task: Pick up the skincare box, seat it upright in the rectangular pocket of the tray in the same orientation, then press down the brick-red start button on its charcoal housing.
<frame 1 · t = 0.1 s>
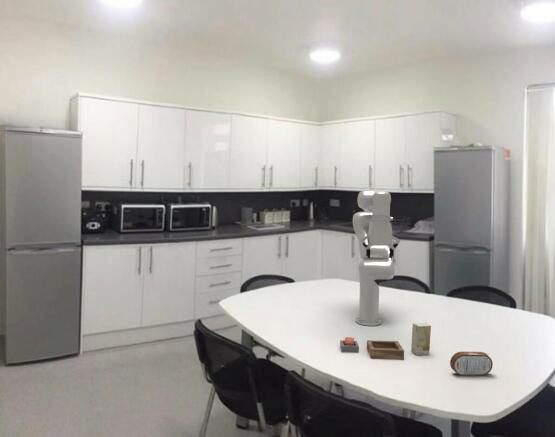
hand: (379, 257, 199), 37 cm above the table, tool pointing down, fingers open, 9 cm apart
tray: (384, 353, 184), on the table
tin: (471, 375, 165), on the table
button housing: (349, 349, 188), on the table
start button: (349, 342, 188), point 3 cm above the table, slide at 0.0 cm
skincare box: (420, 353, 185), on the table
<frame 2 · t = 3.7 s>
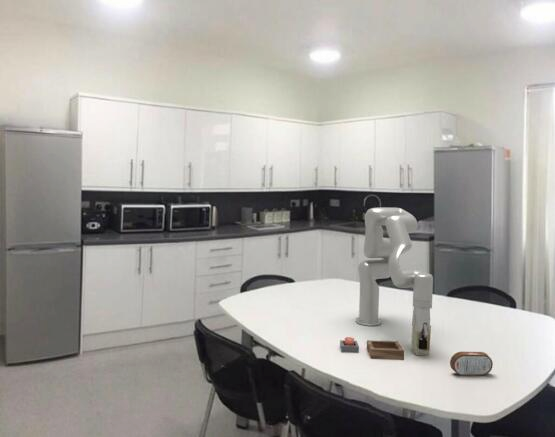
hand: (420, 345, 185), 3 cm above the table, tool pointing down, fingers closed on skincare box, 5 cm apart
skincare box: (420, 353, 185), on the table, touching gripper
everything else where it was.
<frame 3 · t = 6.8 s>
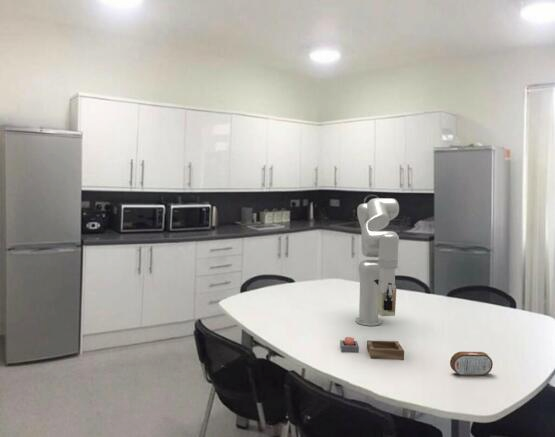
hand: (386, 307, 182), 19 cm above the table, tool pointing down, fingers closed on skincare box, 5 cm apart
skincare box: (386, 315, 183), point 16 cm above the table, touching gripper
everything else where it was.
when the fingers open (4 cm above the table, at t = 10.1 s): skincare box stays where it is, resting on tray.
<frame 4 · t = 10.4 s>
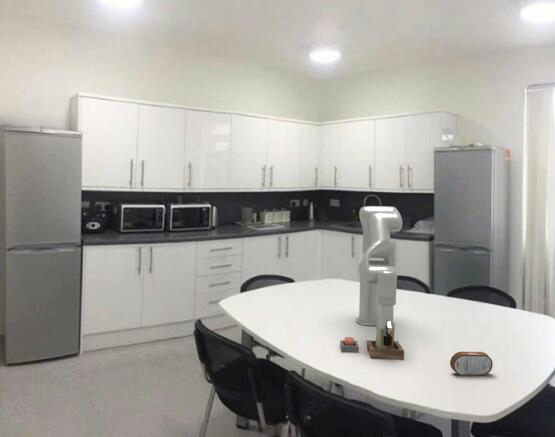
hand: (385, 341, 183), 5 cm above the table, tool pointing down, fingers open, 9 cm apart
skincare box: (384, 351, 184), point 1 cm above the table, touching tray
everything else where it was.
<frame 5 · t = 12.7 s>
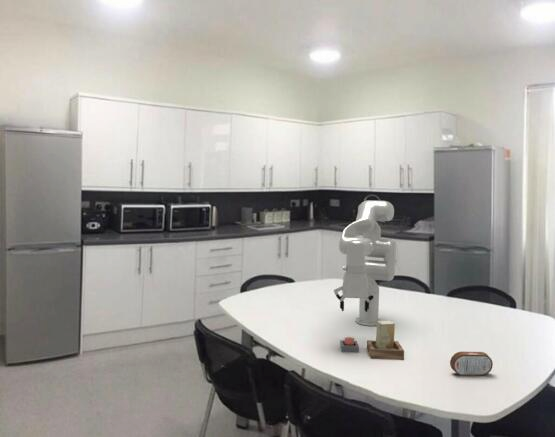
hand: (354, 310, 186), 17 cm above the table, tool pointing down, fingers open, 9 cm apart
nothing on the table moved.
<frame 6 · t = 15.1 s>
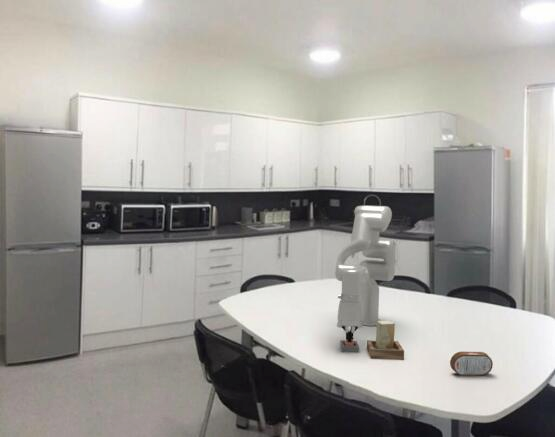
hand: (349, 341, 188), 4 cm above the table, tool pointing down, fingers closed
start button: (349, 344, 188), point 2 cm above the table, slide at 1.0 cm, touching gripper
everything else where it was.
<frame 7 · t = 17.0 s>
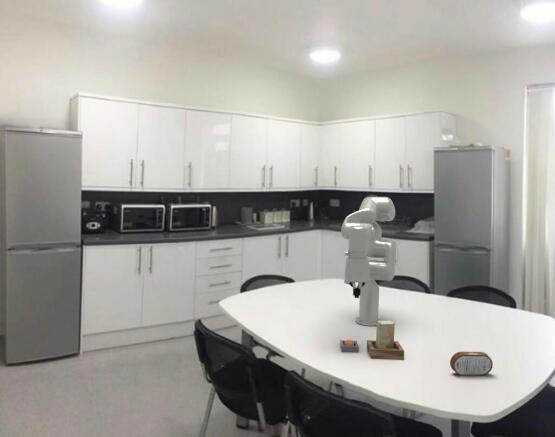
hand: (356, 297, 191), 21 cm above the table, tool pointing down, fingers closed
start button: (349, 344, 188), point 2 cm above the table, slide at 1.2 cm
everything else where it was.
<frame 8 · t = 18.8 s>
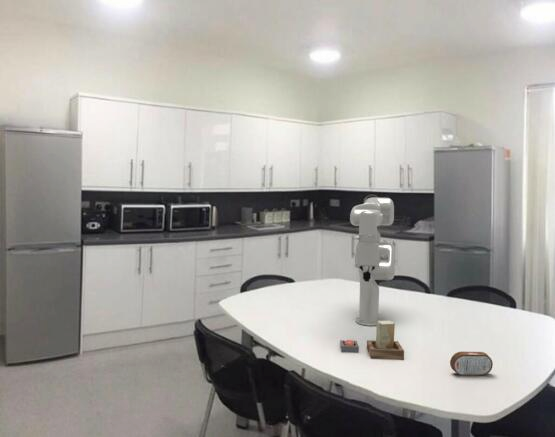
hand: (366, 280, 196), 27 cm above the table, tool pointing down, fingers closed
nothing on the table moved.
at the end: skincare box 0.2 cm off-centre on the tray, point 0.8 cm above the tray's base; skincare box tilted 0°; start button slide at 1.2 cm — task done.
